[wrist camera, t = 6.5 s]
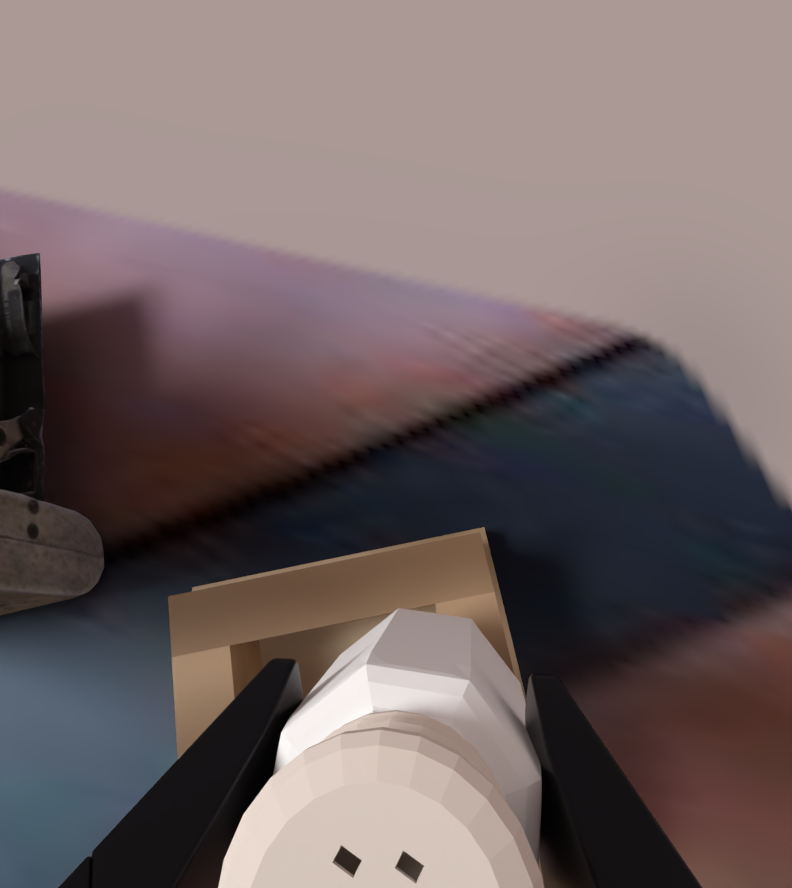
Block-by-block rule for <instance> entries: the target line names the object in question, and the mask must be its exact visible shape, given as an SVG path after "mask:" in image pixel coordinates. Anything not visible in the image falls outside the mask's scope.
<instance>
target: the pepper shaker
mask: <svg viewBox="0 0 792 888" xmlns="http://www.w3.org/2000/svg"><path fill="white" fill-rule="evenodd" d="M525 706H526V703H525V699H524V695H523V692H522V688H521V684H520V682H519V681H518V679H517V678H516V677H515V675H514V674H513V673H512V671H511V670H510V669H509V668H508V666H507V665H506V664H505V662H504V661H503V660H502V658H501V657H500V656H499V654H498V653H497V652H496V651H495V649H494V648H493V647H492V645H491V644H490V643H489V641H488V640H487V639H486V637H485V636H484V635H483V634H482V632H481V631H480V630H479V628H478V627H477V626H476V624H475V623H474V622H473V620H472V619H470V618H463V617H457V616H450V615H443V614H436V613H429V612H422V611H415V610H408V609H401V608H398V609H397V610H396V611H394V612H393V613H392V614H391V615H389V616H388V617H387V618H386V619H384V620H383V621H382V622H381V623H379V624H378V625H377V626H376V627H374V628H373V629H372V630H371V631H369V632H368V633H367V634H366V635H364V636H363V637H362V638H360V639H359V640H358V641H357V642H355V643H354V644H353V645H352V646H350V647H349V648H348V649H347V650H345V651H344V652H343V653H342V654H340V656H339V657H338V658H337V659H336V660H335V662H334V663H333V664H332V665H331V667H330V668H329V669H328V670H327V672H326V673H325V674H324V675H323V677H322V678H321V679H320V680H319V682H318V683H317V684H316V685H315V686H314V688H313V689H312V690H311V691H310V693H309V694H308V695H307V696H306V698H305V699H304V700H303V701H302V703H301V704H300V705H299V706H298V707H297V709H296V710H295V711H294V712H293V714H292V715H291V716H290V718H289V719H288V721H287V723H286V725H285V726H284V728H283V730H282V732H281V736H280V741H279V746H278V750H277V756H276V761H275V767H274V772H273V776H272V777H271V778H270V779H269V780H268V782H267V783H266V785H265V786H264V787H263V789H262V790H261V791H260V793H259V794H258V795H257V797H256V798H255V799H254V801H253V802H252V803H251V805H250V806H249V807H248V809H247V810H246V812H245V813H244V814H243V816H242V819H241V821H240V823H239V826H238V828H237V830H236V832H235V835H234V837H233V839H232V842H231V844H230V846H229V849H228V851H227V853H226V856H225V858H224V861H223V866H222V871H221V876H220V881H219V886H218V888H544V885H543V880H542V874H541V872H540V869H539V847H540V827H541V806H542V776H541V764H540V761H539V759H538V756H537V754H536V751H535V749H534V746H533V744H532V742H531V739H530V737H529V735H528V732H527V730H526V725H525Z"/></svg>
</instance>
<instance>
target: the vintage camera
mask: <svg viewBox="0 0 792 888" xmlns="http://www.w3.org/2000/svg"><path fill="white" fill-rule="evenodd" d="M44 415H45V381H44V349H43V324H42V294H41V269H40V253H36V254H29V255H21V256H16V257H12V258H7V259H2V260H0V615H4V614H8V613H13V612H17V611H21V610H25V609H30V608H34V607H38V606H42V605H47V604H51V603H55V602H59V601H63V600H68V599H72V598H75V597H78V596H80V595H83V594H85V593H88V592H90V590H91V589H92V588H93V587H94V586H95V585H96V584H97V583H98V581H99V579H100V576H101V574H102V572H103V569H104V551H103V545H102V540H101V536H100V535H99V533H98V532H97V530H96V529H95V527H94V526H93V524H92V523H91V521H90V520H89V519H88V518H86V517H84V516H83V515H81V514H79V513H78V512H76V511H74V510H70V509H67V508H64V507H61V506H58V505H55V504H52V503H48V502H44V476H45V448H44V443H43V439H42V432H43V423H44Z"/></svg>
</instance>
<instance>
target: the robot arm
mask: <svg viewBox="0 0 792 888" xmlns="http://www.w3.org/2000/svg"><path fill="white" fill-rule="evenodd" d="M302 701H303V692H302V685H301V679H300V672H299V666H298V663H297V661H296V660H294V659H285V658H274V659H272V660H270V661H269V662H268V663H267V664H266V665H265V666H264V668H263V669H262V670H261V671H260V672H259V673H258V674H257V675H256V676H255V677H254V678H253V679H252V680H251V682H250V683H249V684H248V685H247V686H246V687H245V688H244V689H243V690H242V691H241V692H240V693H239V694H238V695H237V697H236V698H235V699H234V700H233V701H232V702H231V703H230V704H229V705H228V706H227V707H226V708H225V709H224V711H223V712H222V713H221V714H220V715H219V716H218V717H217V718H216V719H215V720H214V721H213V722H212V723H211V725H210V726H209V727H208V728H207V729H206V730H205V731H204V732H203V733H202V734H201V735H200V736H199V737H198V739H197V740H196V741H195V742H194V743H193V744H192V745H191V746H190V747H189V748H188V749H187V750H186V751H185V752H184V754H183V755H182V756H181V757H180V758H179V759H178V760H177V761H176V762H175V763H174V764H173V765H172V766H171V768H170V769H169V770H168V771H167V772H166V773H165V774H164V775H163V776H162V777H161V778H160V779H159V780H158V782H157V783H156V784H155V785H154V786H153V787H152V788H151V789H150V790H149V791H148V792H147V793H146V794H145V796H144V797H143V798H142V799H141V800H140V801H139V802H138V803H137V804H136V805H135V806H134V807H133V808H132V809H131V811H130V812H129V813H128V814H127V815H126V816H125V817H124V818H123V819H122V820H121V821H120V822H119V823H118V825H117V826H116V827H115V828H114V829H113V830H112V831H111V832H110V833H109V834H108V835H107V836H106V837H105V839H104V840H103V841H102V842H101V843H100V844H99V845H98V846H97V847H96V848H95V849H94V850H93V852H92V857H90V856H89V857H87V858H86V859H85V860H84V861H83V862H82V863H81V864H80V865H79V866H78V867H77V868H76V869H75V870H74V872H73V873H72V874H71V875H70V876H69V877H68V878H67V879H66V880H65V881H64V882H63V883H62V884H61V885H60V886H59V888H218V886H219V881H220V876H221V871H222V866H223V861H224V858H225V856H226V853H227V851H228V849H229V846H230V844H231V842H232V839H233V837H234V835H235V832H236V830H237V828H238V826H239V823H240V821H241V819H242V816H243V814H244V813H245V812H246V810H247V809H248V807H249V806H250V805H251V803H252V802H253V801H254V799H255V798H256V797H257V795H258V794H259V793H260V791H261V790H262V789H263V787H264V786H265V785H266V783H267V782H268V780H269V779H270V778H271V777H272V776H273V772H274V767H275V761H276V756H277V750H278V746H279V741H280V736H281V732H282V730H283V728H284V726H285V725H286V723H287V721H288V719H289V718H290V716H291V715H292V714H293V712H294V711H295V710H296V709H297V707H298V706H299V705H300V704H301V703H302ZM525 725H526V730H527V732H528V735H529V737H530V739H531V742H532V744H533V746H534V749H535V751H536V754H537V756H538V759H539V761H540V764H541V776H542V806H541V827H540V847H539V859H540V864H541V870H542V875H543V881H544V886H545V888H702V887H701V885H700V884H699V882H698V881H697V879H696V878H695V876H694V875H693V873H692V872H691V870H690V869H689V868H688V866H687V865H686V863H685V862H684V860H683V859H682V857H681V856H680V854H679V853H678V852H677V850H676V849H675V847H674V846H673V844H672V843H671V841H670V840H669V838H668V837H667V835H666V834H665V833H664V831H663V830H662V828H661V827H660V825H659V824H658V822H657V821H656V819H655V818H654V817H653V815H652V814H651V812H650V811H649V809H648V808H647V806H646V805H645V803H644V802H643V800H642V799H641V798H640V796H639V795H638V793H637V792H636V790H635V789H634V787H633V786H632V784H631V783H630V782H629V780H628V779H627V777H626V776H625V774H624V773H623V771H622V770H621V768H620V767H619V765H618V764H617V763H616V761H615V760H614V758H613V757H612V755H611V754H610V752H609V751H608V749H607V748H606V747H605V745H604V744H603V742H602V741H601V739H600V738H599V736H598V735H597V733H596V732H595V730H594V729H593V728H592V726H591V725H590V723H589V722H588V720H587V719H586V717H585V716H584V714H583V713H582V712H581V710H580V709H579V707H578V706H577V704H576V703H575V701H574V700H573V698H572V697H571V695H570V694H569V693H568V691H567V690H566V688H565V687H564V685H563V684H562V682H561V681H560V680H559V678H558V677H557V676H555V675H552V674H536V673H534V674H531V675H530V677H529V682H528V690H527V698H526V706H525Z"/></svg>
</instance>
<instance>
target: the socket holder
mask: <svg viewBox="0 0 792 888" xmlns="http://www.w3.org/2000/svg"><path fill="white" fill-rule="evenodd" d="M168 604H169V621H170V638H171V654H172V671H173V688H174V704H175V721H176V737H177V754H178V759H179V758H180V757H181V756H182V755H183V754H184V752H185V751H186V750H187V749H188V748H189V747H190V746H191V745H192V744H193V743H194V742H195V741H196V740H197V739H198V737H199V736H200V735H201V734H202V733H203V732H204V731H205V730H206V729H207V728H208V727H209V726H210V725H211V723H212V722H213V721H214V720H215V719H216V718H217V717H218V716H219V715H220V714H221V713H222V712H223V711H224V709H225V708H226V707H227V706H228V705H229V704H230V703H231V702H232V701H233V700H234V699H235V698H236V697H237V695H238V694H239V693H240V692H241V691H242V690H243V689H244V688H245V687H246V686H247V685H248V684H249V683H250V682H251V680H252V679H253V678H254V677H255V676H256V675H257V674H258V673H259V672H260V671H261V670H262V669H263V668H264V666H265V665H266V664H267V663H268V662H269V661H270V660H272V659H274V658H285V659H294V660H296V661H297V663H298V666H299V672H300V679H301V685H302V692H303V700H304V699H305V698H306V696H307V695H308V694H309V693H310V691H311V690H312V689H313V688H314V686H315V685H316V684H317V683H318V682H319V680H320V679H321V678H322V677H323V675H324V674H325V673H326V672H327V670H328V669H329V668H330V667H331V665H332V664H333V663H334V662H335V660H336V659H337V658H338V657H339V656H340V654H342V653H343V652H344V651H345V650H347V649H348V648H349V647H350V646H352V645H353V644H354V643H355V642H357V641H358V640H359V639H360V638H362V637H363V636H364V635H366V634H367V633H368V632H369V631H371V630H372V629H373V628H374V627H376V626H377V625H378V624H379V623H381V622H382V621H383V620H384V619H386V618H387V617H388V616H389V615H391V614H392V613H393V612H394V611H396V610H397V609H398V608H401V609H408V610H415V611H422V612H429V613H436V614H443V615H450V616H457V617H463V618H470V619H472V620H473V622H474V623H475V624H476V626H477V627H478V628H479V630H480V631H481V632H482V634H483V635H484V636H485V637H486V639H487V640H488V641H489V643H490V644H491V645H492V647H493V648H494V649H495V651H496V652H497V653H498V654H499V656H500V657H501V658H502V660H503V661H504V662H505V664H506V665H507V666H508V668H509V669H510V670H511V671H512V673H513V674H514V675H515V677H516V678H517V679H518V681H519V682H520V684H521V688H522V692H523V695H524V699H525V703H526V696H525V691H524V687H523V683H522V679H521V675H520V671H519V667H518V663H517V659H516V655H515V651H514V646H513V642H512V638H511V634H510V630H509V626H508V622H507V618H506V614H505V610H504V605H503V601H502V597H501V593H500V589H499V585H498V581H497V577H496V573H495V569H494V565H493V560H492V556H491V552H490V548H489V544H488V540H487V536H486V532H485V528H484V527H482V528H477V529H473V530H468V531H463V532H458V533H453V534H448V535H444V536H439V537H434V538H429V539H424V540H419V541H414V542H410V543H405V544H400V545H395V546H390V547H385V548H381V549H376V550H371V551H366V552H361V553H356V554H351V555H347V556H342V557H337V558H332V559H327V560H322V561H318V562H313V563H308V564H303V565H298V566H293V567H288V568H284V569H279V570H274V571H269V572H264V573H259V574H255V575H250V576H245V577H240V578H235V579H230V580H225V581H221V582H216V583H211V584H206V585H201V586H196V587H192V592H187V593H182V594H177V595H172V596H168ZM539 869H540V872H541V874H542V870H541V864H540V859H539ZM542 880H543V875H542ZM543 885H544V881H543ZM544 888H545V886H544Z"/></svg>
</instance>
